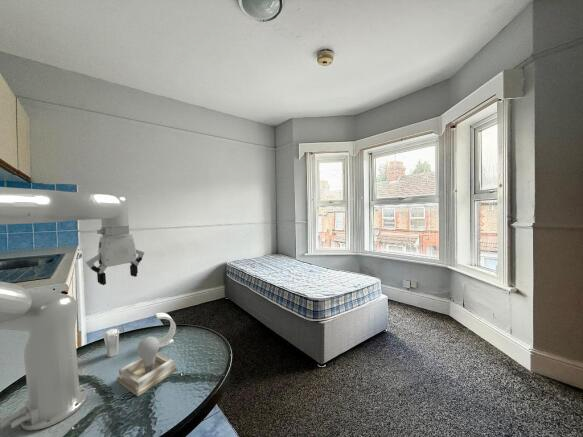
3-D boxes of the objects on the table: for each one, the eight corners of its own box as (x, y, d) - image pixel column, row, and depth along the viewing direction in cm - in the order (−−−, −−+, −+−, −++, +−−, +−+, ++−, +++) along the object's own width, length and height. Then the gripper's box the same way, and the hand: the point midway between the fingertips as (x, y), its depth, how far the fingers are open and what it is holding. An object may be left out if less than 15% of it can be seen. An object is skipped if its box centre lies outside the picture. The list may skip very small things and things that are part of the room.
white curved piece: (156, 342, 93) (155, 313, 92) (173, 337, 97) (171, 308, 96) (159, 348, 90) (158, 317, 89) (176, 341, 94) (175, 312, 93)
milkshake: (114, 359, 84) (112, 331, 83) (101, 357, 85) (99, 330, 84) (125, 351, 88) (123, 325, 87) (113, 349, 89) (111, 324, 88)
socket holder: (137, 396, 67) (137, 384, 67) (116, 381, 73) (116, 370, 73) (176, 370, 78) (176, 360, 77) (155, 358, 84) (154, 349, 83)
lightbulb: (148, 379, 72) (147, 344, 72) (133, 376, 74) (132, 341, 73) (164, 367, 78) (163, 334, 77) (150, 364, 79) (149, 331, 79)
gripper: (89, 235, 72) (93, 289, 73) (147, 229, 87) (150, 274, 88) (79, 234, 76) (83, 285, 77) (136, 228, 91) (139, 272, 92)
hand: (119, 279), depth 83 cm, fingers open, 9 cm apart
